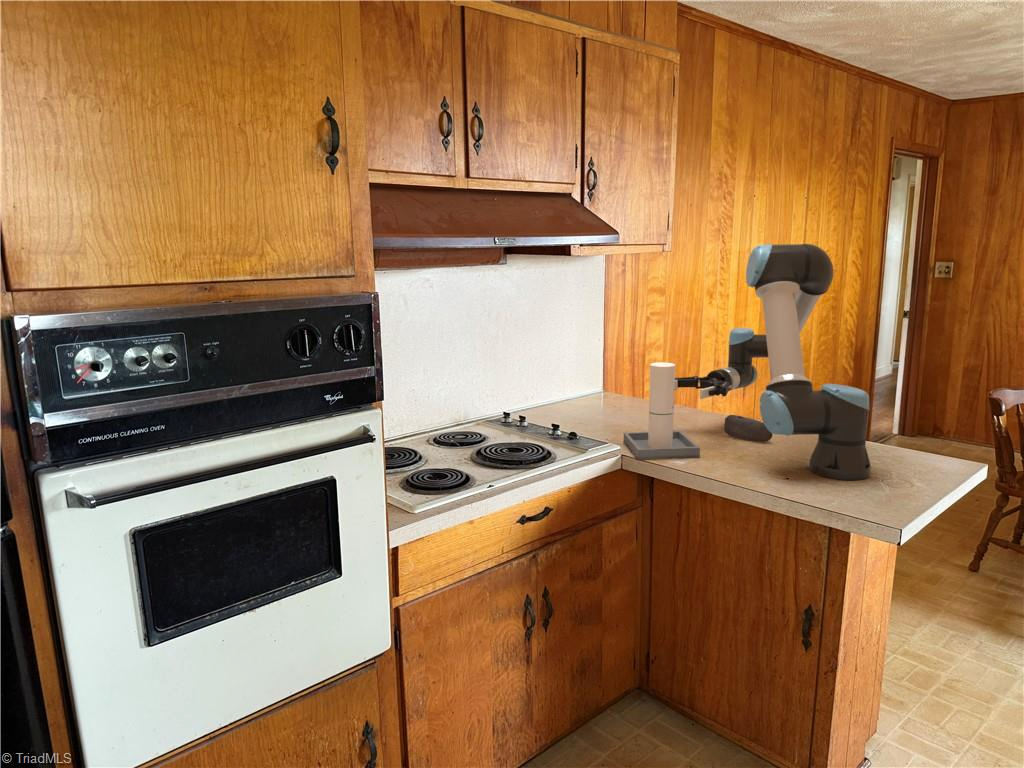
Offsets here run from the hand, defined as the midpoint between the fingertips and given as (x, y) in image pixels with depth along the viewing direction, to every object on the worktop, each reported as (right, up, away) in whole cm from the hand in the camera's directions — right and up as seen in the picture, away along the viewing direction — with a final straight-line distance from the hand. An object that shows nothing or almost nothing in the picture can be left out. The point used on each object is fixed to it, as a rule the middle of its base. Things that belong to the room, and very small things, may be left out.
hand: (681, 390), depth 220 cm
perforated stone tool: (+22, -16, +7) cm, 28 cm away
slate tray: (-7, -18, -3) cm, 19 cm away
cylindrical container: (-7, -17, -3) cm, 19 cm away
